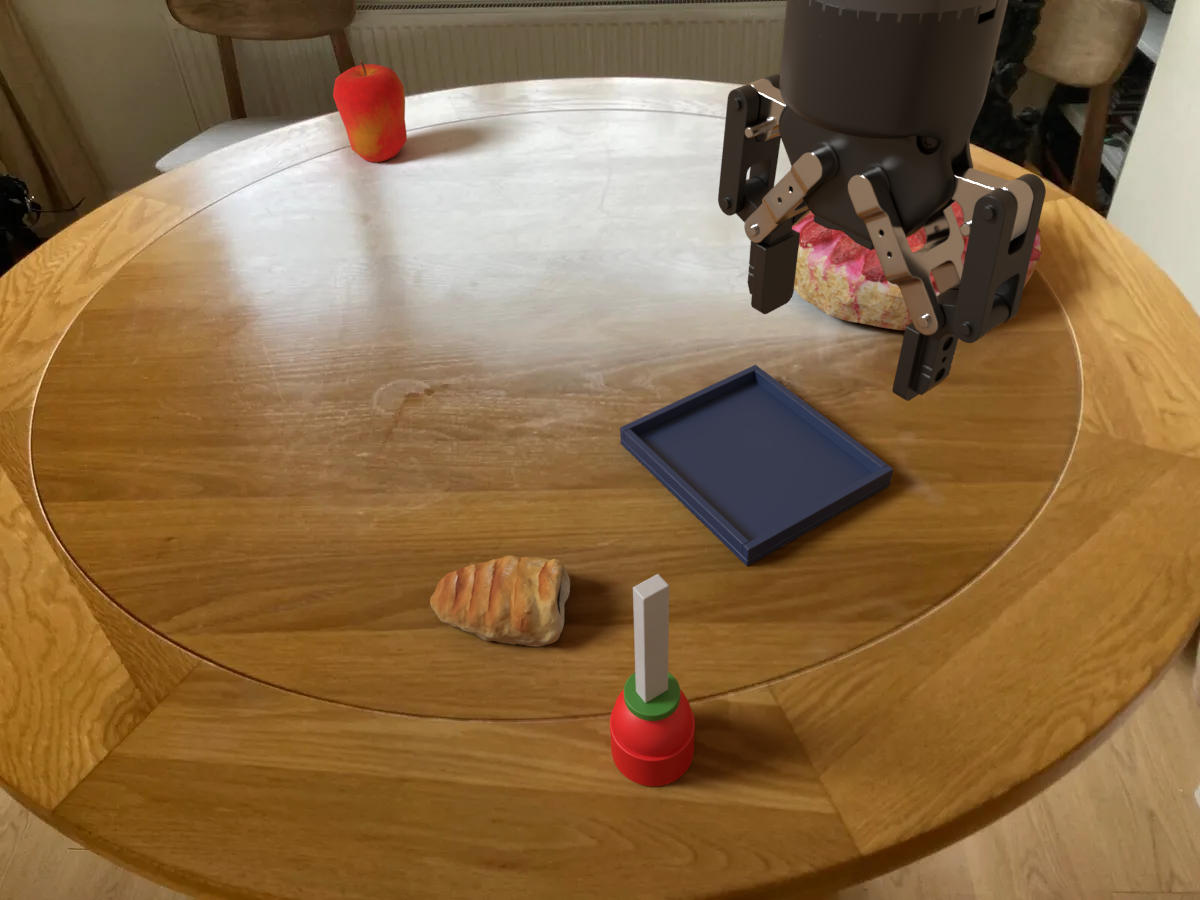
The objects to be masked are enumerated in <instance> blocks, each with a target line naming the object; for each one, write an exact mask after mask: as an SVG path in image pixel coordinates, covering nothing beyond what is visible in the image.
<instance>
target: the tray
mask: <svg viewBox="0 0 1200 900" xmlns="http://www.w3.org/2000/svg"><path fill="white" fill-rule="evenodd" d="M619 436H620V437H619V438H620V439H619V440H620V445H621V446H622V447H623V448H624V449H626V450H627V451H628V453H630V455H632V456H633V457H634V458H635V460H636V461H638V462H639V463H640V464H641V465H642V466H643V467H644V468H645V469H646V470H647V471H648V472H649V473H650V474H651V475H652V476H653V477H654V478H655V479H656V480H657V481H658V482H659V483H660V484H662V486H664V488H666V489H667V490H668V491H669V492H670V493H671V494H672V495H673V496H674V497H675V498H676V499H677V500H678V501H679V502H680V504H682V506H684V507H685V508H686V509H687V510H688V511H689V512H690V513H691V514H692V515H693V516H694V517H696V519H698V521H700V522H701V523H702V524H703V525H704V526H705V527H706V528H707V529H708V530H709V531H710V532H711V533H712V534H713V535H714V536H715V537H716V538H717V539H718V540H719V541H720V542H721V543H722V544H723V545H724V546H725V547H726V548H728V550H729V551H731V552H732V554H733V555H734V556H736V557H737V559H738V560H739V561H741V562H742V563H743V564H744V565H745V566H746V567H748V566H751V565H752V564H753V563H756V562H758V561H759V560H761V559H762V558H764V557H766V556H768V555H770V554H771V553H773V552H775V551H776V550H779V549H780V548H782V547H784V546H786V545H787V544H789V543H791V542H793V541H795V540H796V539H798V538H800V537H802V536H804V535H805V534H807V533H809V532H810V531H812V530H814V529H815V528H818V527H819V526H821V525H822V524H824V523H826V522H828V521H830V520H832V519H833V518H835V517H837V516H839V515H840V514H842V513H844V512H846V511H848V510H850V509H851V508H853V507H855V506H857V505H858V504H860V503H862V502H863V501H866V500H867V499H869V498H870V497H872V496H874V495H876V494H877V493H880V492H881V491H883V490H885V489H887V488H888V487H890V486H891V482H892V477H893V472H894V468H893V467H892V466H890V465H888V463H886V462H885V461H883V460H882V459H881V458H880V457H878V456H877V455H876V454H874V452H872V451H870V450H869V449H868V448H867V447H865V446H864V445H862V443H860V442H859V441H857V440H856V439H855V438H853V437H852V436H851V435H850V434H848V433H847V432H845V431H844V430H843V429H842V428H840V427H839V426H838V425H836V424H835V423H834V422H832V421H831V420H830V419H828V418H827V417H826V416H824V415H823V414H821V412H819V411H817V410H816V409H815V408H814V407H813V406H811V405H810V404H808V403H807V402H806V401H805V400H803V399H802V398H801V397H800V396H798V395H797V394H795V393H794V392H792V391H791V390H790V389H789V388H788V387H786V386H785V385H783V384H782V383H780V381H778V380H776V378H774V377H773V376H771V375H770V374H769V373H768V372H766V371H765V370H764V369H763V368H762V367H759V366H758V365H757V364H754V365H751V366H749V367H747V368H745V369H743V370H741V371H738V372H737V373H734V374H732V375H730V376H728V377H726V378H724V379H721V380H719V381H717V382H715V383H712V384H710V385H708V386H706V387H704V388H702V389H700V390H698V391H695V392H693V393H691V394H689V395H687V396H685V397H682V398H680V399H678V400H676V401H675V402H672V403H670V404H668V405H667V404H666V405H665V406H663V407H661V408H659V409H656V410H654V411H652V412H650V413H648V414H646V415H644V416H642V417H639V418H637V419H635V420H633V421H630V422H628V423H627V424H624V425H622V426H620V427H619Z"/></svg>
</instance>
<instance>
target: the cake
mask: <svg viewBox="0 0 1200 900" xmlns="http://www.w3.org/2000/svg"><path fill="white" fill-rule="evenodd" d="M951 206H952V209H953V212H954V215H955V218H956V220H957V223H958V226H959V229H960V226H961V225H962V224H963V217H964V216H963V211H962V209H961V207H960V205H959V204H958V203H957V202H956V201H955V202H954V203H953V204H951ZM792 229H793V230H795V231H797V232H799V233H800V240H799V248H798V257H797V266H796V274H795V283H794V291H795V292H796V293H797V294H798V296H799V297H800V298H801V299H802V300H804V301H806V302H807V303H809V304H811V305H813V306H814V307H815V308H817V309H819V310H820V311H822V312H823V313H824V314H826V315H828V316H830V317H833V318H837V319H840V320H843V321H846V322H851V323H859V324H863V325H868V326H873V327H877V328H883V329H891V330H897V331H905V328H906V326H907V325H909V324H911V323H912V320H911V317H910V314H909V312H908V309H907V306H906V304H905V301H904V298H903V296H902V293H901V290H900V288H899V287H898V286H897V285H896V284H892V283H890V282H889V281H888V280H887V279H886V277H885V274H884V272H883V269H882V267H881V264H880V261H879V259H878V256H877V253H876V251H875V249H873V250H869V249H867V248H865V247H863V246H861V245H859V244H857V243H856V242H855V241H853V240H852V239H851V238H850V237H849V236H848V235H846V234H845V233H844V232H842V231H839V230H833V229H827V228H825V227H823V226H821V225H819V224H817V223H815V222H814V214H813V213H812V212H810V213H809V214H807V215H806V216H805V217H804V218H803V219H802V220H801V221H800V222H799V223H798V224H796V225H794V226H792ZM962 237H963V240H964V251H963V253H962V255H961V260H962V263H963V265H964V260H965V255H966V249H967V244H968V239H969V236H968V237H965V236H963V235H962ZM906 239H907V241H908V244H909V247H910V249H911V250H912V252H913V253H914V252H916V251H918V250H919V249H921V248H923V247H924V246H925V244H926V233H925V230H924V227H922V228H921V229H920V230H918V231H917V232H916V233H915V234H913V235H911V236H909V237H907V238H906ZM1041 257H1042V248H1041V229H1040V228H1039V226H1038V228H1037V233H1036V237H1035V241H1034V245H1033V250H1032V254H1031V258H1030V262H1029V267H1028V271H1027V275H1026V279H1025V283H1024V288H1023V290H1024V289H1025V288H1026V286H1027V284H1028V282H1029V280H1030V279H1031V278H1032V275H1033V273H1034V271H1035V270H1036V267H1037V265H1038V263H1039V262H1040V259H1041ZM930 279H931V282H932V284H933V287H934V290H935V293H936V295H937V296H938V295H939V291H938V288H937V286H936V283H935V280H934V277H933V275H932V272H930Z"/></svg>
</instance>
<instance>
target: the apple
mask: <svg viewBox="0 0 1200 900" xmlns="http://www.w3.org/2000/svg"><path fill="white" fill-rule="evenodd" d="M359 63H360V64H359V65H356V66H352V67H350V68H349V69H346V70H345V71H344V72H342V73H341V74H339V75H338V76H337V77H336V78H335V79H334V85H333V92H332V93H333V94H332V98H333V100H334V103H335V105H336V109H337V111H338V113H339V116H340V118H341V121H342V123H343V125H344V127H345V130H346V131H345V132H346V134H347V138H348V141H349V144H350V149H351V150H352V151H353V152H354V153H356V154H357V156H358V157H360V158H362V159H363V160H364V161H365V162H369V163H381V162H385V161H388V160H390V159H393V158H394V157H396V156H397V155H398V154H399V153H400V152H401V150H402V148H403V147H404V146H405V144H407V142H408V135H407V125H406V96H405V87H404V84H403V81H402V80H401V79H400V78H399V76H398V75H397V73H396V72H395V71H394V70H393V69H392V68H390V67H388V66H384V65H381V64H376V63H375V64H373V63H372V64H371V63H365V64H364V62H363V60H362V59H361V60H360V61H359Z"/></svg>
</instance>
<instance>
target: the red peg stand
mask: <svg viewBox="0 0 1200 900" xmlns="http://www.w3.org/2000/svg"><path fill="white" fill-rule="evenodd" d="M632 603H633V604H632V605H633V607H632V609H633V637H634V639H633V641H634V672H633V673H632V674H631V675H630V676H629V677H628V678H627V680H626V682H625V683H624V686H623V689H622V690H621V691H620V693H619V694H618V696H617V698H616V700H615V703H614V706H613V708H612V711H611V713H610V717H609V732H610V733H609V735H610V749H611V750H610V751H611V757H612V760H613V762H614V763H613V764H614V765H615V766H616V768H617V769H618V771H619V772H620V773H621V774H622V775H623V776H624V777H625V778H626V779H628V780H629V781H631V782H633V783H635V784H637V785H641V786H645V787H663V786H665V785H669V784H671V783H674V782H675V781H677V780H679V779H680V778H681V777H682V776H683V775H684V774H686V772H687V771H688V770H689V768H690V766H691V764H692V761H693V759H694V754H695V753H694V752H695V734H696V733H695V732H696V719H695V715H694V712H693V710H692V708H691V705H690V702H689V699H688V697H687V695H685V693H684V692H683V690H682V689H681V687H680V684H679V682H678V680H677V679H676V677H675V676H674V675H673V674H672V673H670V672H669V652H670V651H669V645H670V644H669V643H670V641H669V639H670V638H669V635H670V585H669V584H668V583H667V582H666V580H665V579H664V578H663V577H662V576H661V575H660V574H659V573H657V574H655V575H653V576H651V577H649V578H647V579H645V580H644V581H642V582H640V583H638V584H636V585H634V586H632Z"/></svg>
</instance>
